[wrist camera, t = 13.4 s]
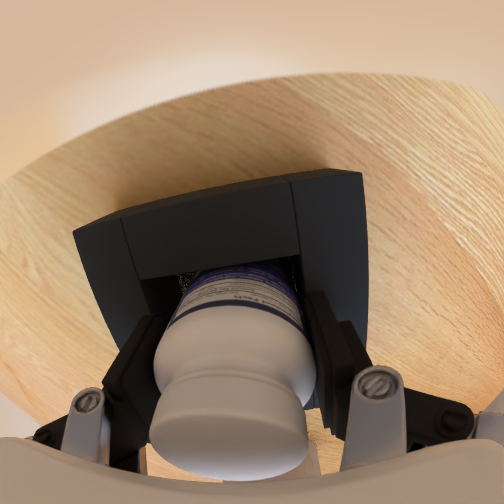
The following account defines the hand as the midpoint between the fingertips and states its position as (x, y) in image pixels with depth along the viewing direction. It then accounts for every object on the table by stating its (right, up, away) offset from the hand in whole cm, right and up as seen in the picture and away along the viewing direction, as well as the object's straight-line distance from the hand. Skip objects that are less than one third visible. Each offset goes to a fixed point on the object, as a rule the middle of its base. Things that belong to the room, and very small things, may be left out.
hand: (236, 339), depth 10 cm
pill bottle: (0, +1, +4) cm, 4 cm away
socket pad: (0, +1, +4) cm, 4 cm away
